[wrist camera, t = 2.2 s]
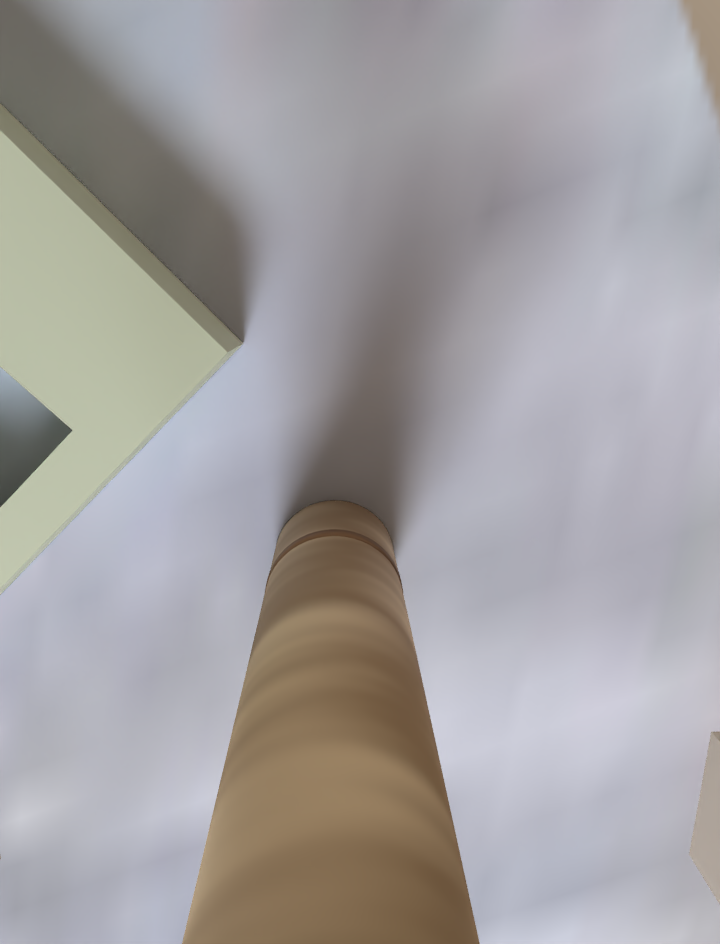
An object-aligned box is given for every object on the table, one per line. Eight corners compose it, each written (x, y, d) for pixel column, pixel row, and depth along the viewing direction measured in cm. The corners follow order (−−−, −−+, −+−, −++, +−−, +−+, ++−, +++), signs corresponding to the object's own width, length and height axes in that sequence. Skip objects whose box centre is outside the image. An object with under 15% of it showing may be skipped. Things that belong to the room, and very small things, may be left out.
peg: (249, 556, 22) (83, 1067, 8) (334, 475, 21) (331, 865, 7) (334, 631, 23) (329, 1220, 8) (418, 556, 22) (571, 1053, 8)
